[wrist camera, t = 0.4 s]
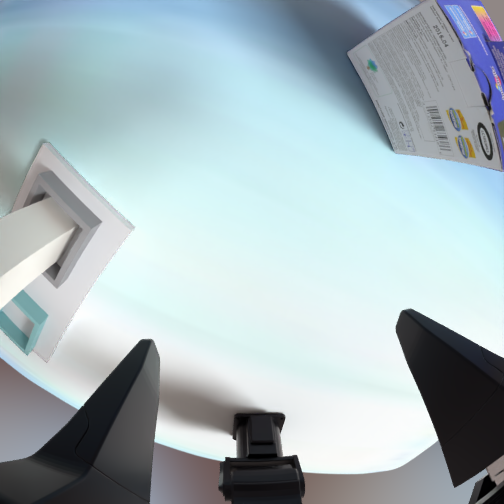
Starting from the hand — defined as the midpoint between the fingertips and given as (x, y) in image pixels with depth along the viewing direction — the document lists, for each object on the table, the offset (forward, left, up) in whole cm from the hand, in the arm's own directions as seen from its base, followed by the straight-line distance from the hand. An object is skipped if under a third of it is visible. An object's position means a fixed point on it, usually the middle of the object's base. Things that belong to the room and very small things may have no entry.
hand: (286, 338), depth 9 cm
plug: (-1, +18, -13) cm, 22 cm away
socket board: (-6, +23, -14) cm, 27 cm away
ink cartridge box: (+13, -11, -14) cm, 22 cm away
